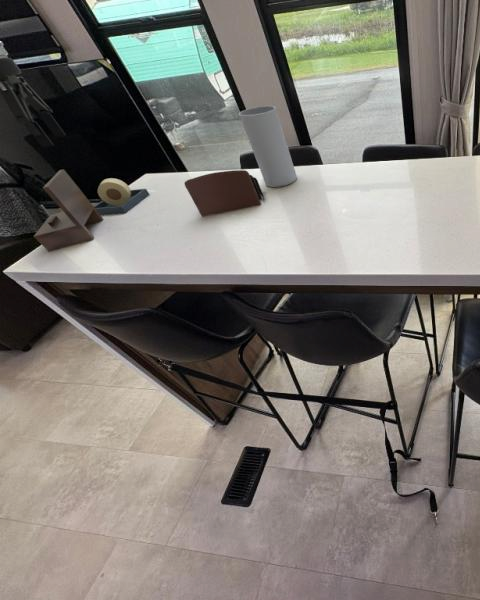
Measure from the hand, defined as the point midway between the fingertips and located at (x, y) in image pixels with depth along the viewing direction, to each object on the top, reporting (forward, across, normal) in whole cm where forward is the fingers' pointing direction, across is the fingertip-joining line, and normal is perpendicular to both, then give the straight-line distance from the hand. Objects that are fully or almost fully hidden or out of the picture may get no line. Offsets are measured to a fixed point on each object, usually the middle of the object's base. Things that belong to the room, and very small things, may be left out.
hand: (55, 141), depth 102 cm
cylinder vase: (+25, -13, -62) cm, 68 cm away
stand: (+26, -17, +6) cm, 31 cm away
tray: (+25, +6, -4) cm, 26 cm away
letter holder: (+25, -27, -43) cm, 57 cm away
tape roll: (+20, +6, -4) cm, 21 cm away
